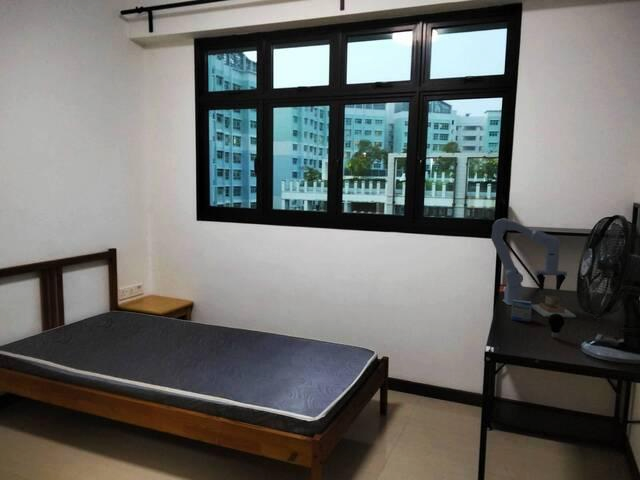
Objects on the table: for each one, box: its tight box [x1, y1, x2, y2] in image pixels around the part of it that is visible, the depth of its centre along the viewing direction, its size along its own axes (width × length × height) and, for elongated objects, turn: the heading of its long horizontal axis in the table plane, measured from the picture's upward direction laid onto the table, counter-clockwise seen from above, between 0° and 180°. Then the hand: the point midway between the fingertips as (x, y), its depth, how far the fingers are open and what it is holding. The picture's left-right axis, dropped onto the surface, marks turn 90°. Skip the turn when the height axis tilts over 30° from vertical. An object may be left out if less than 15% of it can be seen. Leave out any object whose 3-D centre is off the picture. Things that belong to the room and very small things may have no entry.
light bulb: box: [547, 314, 566, 339], centre depth 186 cm, size 6×6×10 cm
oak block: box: [544, 295, 561, 308], centre depth 225 cm, size 4×6×6 cm, turn 178°
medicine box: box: [510, 299, 533, 323], centre depth 211 cm, size 8×4×9 cm, turn 62°
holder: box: [531, 302, 577, 318], centre depth 225 cm, size 18×14×3 cm
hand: (549, 289), depth 230 cm, fingers open, 7 cm apart
